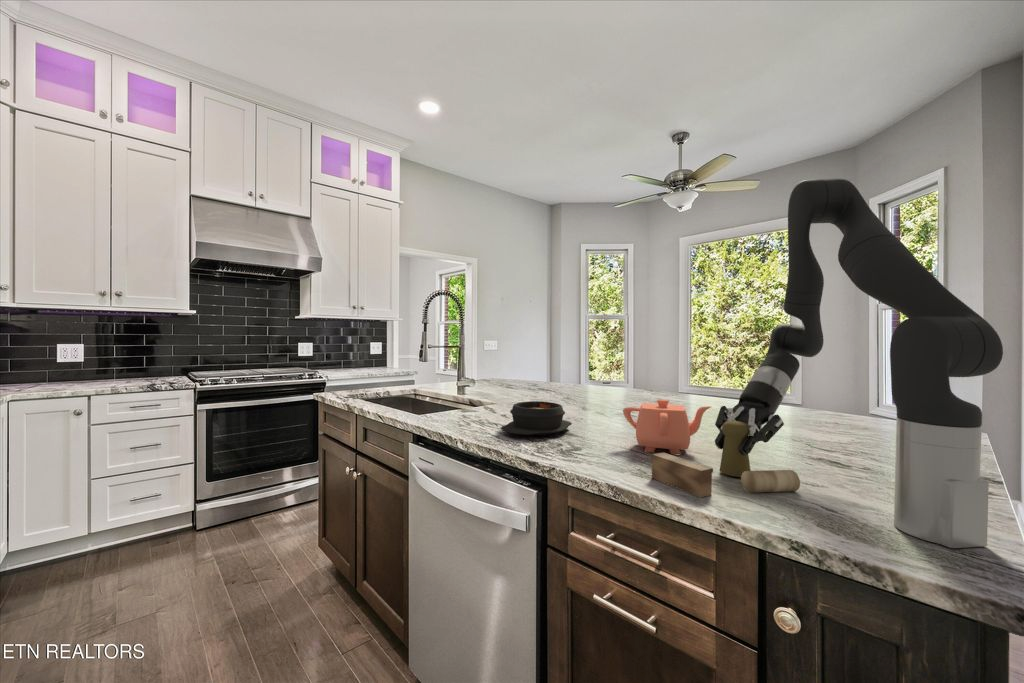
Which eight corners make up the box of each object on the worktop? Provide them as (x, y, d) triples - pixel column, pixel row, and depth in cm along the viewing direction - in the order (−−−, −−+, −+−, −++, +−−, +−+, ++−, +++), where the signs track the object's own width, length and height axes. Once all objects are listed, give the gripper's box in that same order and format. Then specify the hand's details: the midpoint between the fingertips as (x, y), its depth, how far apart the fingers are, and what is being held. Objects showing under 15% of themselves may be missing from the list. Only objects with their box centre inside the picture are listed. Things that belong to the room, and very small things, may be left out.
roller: (802, 491, 82) (786, 490, 85) (797, 469, 83) (782, 469, 87) (756, 493, 80) (743, 492, 84) (752, 471, 82) (739, 471, 85)
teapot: (619, 446, 116) (620, 397, 116) (659, 439, 124) (660, 394, 124) (670, 462, 102) (671, 407, 101) (711, 453, 110) (712, 402, 109)
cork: (755, 477, 89) (756, 425, 89) (723, 475, 90) (724, 423, 90) (745, 469, 95) (746, 419, 95) (716, 467, 96) (716, 418, 96)
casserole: (540, 421, 147) (541, 397, 147) (585, 430, 134) (586, 404, 134) (486, 433, 129) (487, 405, 129) (532, 444, 116) (533, 413, 116)
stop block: (712, 494, 81) (713, 468, 81) (700, 497, 79) (701, 470, 79) (663, 475, 91) (663, 452, 91) (651, 478, 90) (652, 454, 90)
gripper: (728, 376, 102) (693, 432, 97) (791, 382, 89) (754, 446, 84) (743, 397, 105) (709, 452, 99) (805, 406, 92) (770, 469, 87)
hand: (729, 449), depth 92 cm, fingers closed on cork, 5 cm apart
